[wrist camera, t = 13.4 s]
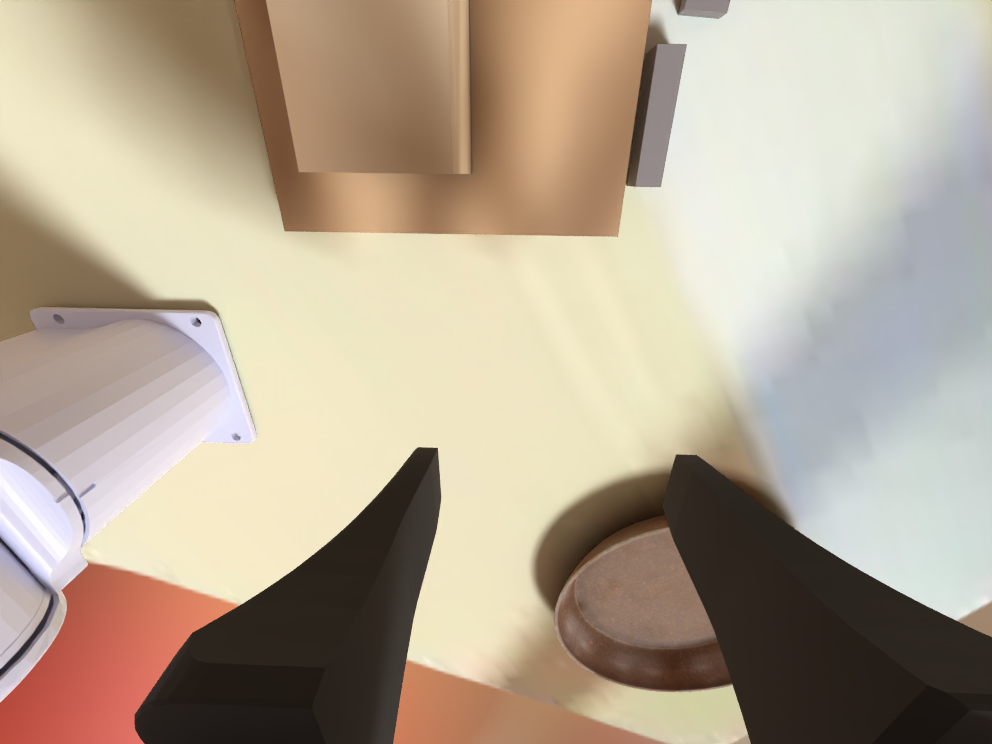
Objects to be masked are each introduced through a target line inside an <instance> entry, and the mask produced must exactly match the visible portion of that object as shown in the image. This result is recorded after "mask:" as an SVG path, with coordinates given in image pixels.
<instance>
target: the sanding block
mask: <svg viewBox="0 0 992 744" xmlns="http://www.w3.org/2000/svg"><path fill="white" fill-rule="evenodd" d="M266 3H267V8H268V13H269V19H270V24H271V29H272V34H273V40H274V45H275V50H276V55H277V60H278V66H279V71H280V76H281V81H282V86H283V92H284V97H285V102H286V107H287V113H288V118H289V123H290V128H291V133H292V139H293V144H294V149H295V154H296V159H297V165H298V170H299V172H327V173H409V174H473V173H472V103H471V33H470V0H266Z"/></svg>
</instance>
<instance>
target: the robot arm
mask: <svg viewBox="0 0 992 744" xmlns="http://www.w3.org/2000/svg"><path fill="white" fill-rule="evenodd" d="M29 315H30V318H31V320H32V322H33V324H34V326H35V328H36V330H33V331H30V332H27V333H24V334H21V335H18V336H15V337H12V338H9V339H6V340H3V341H0V702H1V701H2V700H3V699H4V698H5V697H6V696H7V695H8V694H9V693H10V692H11V691H12V690H13V689H14V688H15V687H16V686H17V685H18V684H19V683H20V682H21V681H22V680H23V679H24V678H25V676H26V675H27V674H28V673H29V672H30V670H31V669H32V668H33V667H34V666H35V664H36V663H37V662H38V661H39V660H40V658H41V657H42V656H43V654H44V653H45V652H46V651H47V649H48V648H49V646H50V645H51V643H52V642H53V640H54V639H55V637H56V636H57V634H58V632H59V630H60V628H61V626H62V624H63V622H64V619H65V615H66V611H67V604H66V599H65V597H64V595H63V593H62V591H61V590H62V589H63V588H64V587H65V586H66V585H67V584H68V583H69V582H70V581H72V580H73V579H74V578H75V577H76V576H77V575H78V574H79V573H80V572H81V571H82V570H83V569H84V568H85V567H86V566H87V565H88V563H87V562H86V560H85V559H84V557H83V555H82V552H81V547H82V546H84V545H85V544H86V543H87V542H88V541H89V540H90V539H92V538H93V537H94V536H95V535H96V534H97V533H98V532H100V531H101V530H102V529H103V528H104V527H105V526H106V525H108V524H109V523H110V522H111V521H112V520H113V519H114V518H116V517H117V516H118V515H119V514H120V513H121V512H122V511H124V510H125V509H126V508H127V507H128V506H129V505H130V504H132V503H133V502H134V501H135V500H136V499H137V498H138V497H140V496H141V495H142V494H143V493H144V492H145V491H146V490H148V489H149V488H150V487H151V486H152V485H153V484H155V483H156V482H157V481H158V480H159V479H160V478H161V477H163V476H164V475H165V474H166V473H167V472H168V471H169V470H171V469H172V468H173V467H174V466H175V465H176V464H177V463H179V462H180V461H181V460H182V459H183V458H184V457H185V456H187V455H188V454H189V453H190V452H191V451H192V450H193V449H195V448H196V447H197V446H198V445H199V444H200V443H201V442H203V443H239V444H249V443H252V442H253V441H254V440H255V439H256V437H257V434H256V430H255V427H254V424H253V421H252V418H251V415H250V412H249V409H248V405H247V402H246V399H245V396H244V393H243V390H242V387H241V384H240V380H239V377H238V374H237V371H236V368H235V365H234V362H233V359H232V355H231V352H230V349H229V346H228V343H227V340H226V337H225V334H224V330H223V327H222V324H221V321H220V319H219V317H218V316H217V315H216V314H215V313H214V312H212V311H208V310H162V309H113V308H65V307H39V308H35V309H32V310H31V311H30V314H29ZM62 317H63V318H62ZM196 318H198V319H199V320H200V321H201V324H200V323H199V322H198V321H197V320H196ZM237 434H238V435H240V436H238V435H237ZM440 503H441V488H440V474H439V459H438V448H422V447H418V448H417V449H416V450H414V452H413V453H412V454H411V456H410V457H409V458H408V460H407V461H406V462H405V463H404V465H403V466H402V467H401V468H400V470H399V471H398V472H397V473H396V475H395V476H394V477H393V478H392V479H391V480H390V482H389V483H388V484H387V485H386V486H385V487H384V488H383V490H382V491H381V492H380V493H379V494H378V495H377V496H376V497H375V499H374V500H373V501H372V502H371V503H370V504H369V505H368V506H367V507H366V508H365V509H364V510H363V511H362V512H361V513H360V514H359V515H358V516H357V517H356V518H355V519H354V520H353V521H352V522H351V523H350V524H349V525H348V526H347V527H345V528H344V529H343V530H342V531H341V532H340V533H339V534H338V535H337V536H335V537H334V538H333V539H332V540H331V541H330V542H328V543H327V544H326V545H325V546H324V547H322V548H321V549H320V550H319V551H317V552H316V553H315V554H314V555H312V556H311V557H310V558H309V559H307V560H306V561H305V562H303V563H302V564H301V565H300V566H298V567H297V568H296V569H294V570H293V571H291V572H290V573H289V574H287V575H286V576H284V577H283V578H281V579H280V580H279V581H277V582H276V583H274V584H273V585H271V586H270V587H268V588H267V589H265V590H264V591H262V592H261V593H259V594H257V595H256V596H254V597H253V598H251V599H250V600H248V601H246V602H245V603H243V604H242V605H240V606H238V607H237V608H235V609H233V610H231V611H230V612H228V613H226V614H225V615H223V616H221V617H219V618H218V619H216V620H214V621H213V622H211V623H209V624H207V625H206V626H204V627H202V628H200V629H199V630H197V631H195V632H193V633H192V634H191V635H190V637H189V638H188V639H187V641H186V642H185V643H184V645H183V646H182V647H181V648H180V650H179V651H178V652H177V654H176V655H175V656H174V658H173V659H172V661H171V662H170V664H169V666H168V667H167V668H166V670H165V671H164V673H163V674H162V676H161V677H160V679H159V680H158V681H157V683H156V684H155V686H154V687H153V689H152V690H151V692H150V693H149V695H148V696H147V697H146V699H145V701H144V702H143V703H142V705H141V706H140V708H139V709H138V711H137V712H136V714H135V729H136V731H137V733H138V735H139V737H140V738H141V740H142V741H143V742H144V743H145V744H393V740H394V733H395V727H396V721H397V714H398V707H399V701H400V694H401V688H402V682H403V676H404V670H405V664H406V658H407V652H408V647H409V641H410V635H411V629H412V624H413V618H414V614H415V610H416V605H417V601H418V597H419V594H420V590H421V586H422V582H423V579H424V575H425V571H426V568H427V564H428V560H429V556H430V553H431V549H432V545H433V541H434V538H435V534H436V530H437V524H438V517H439V510H440ZM662 506H663V509H664V513H665V516H666V520H667V523H668V526H669V529H670V532H671V535H672V538H673V540H674V543H675V545H676V547H677V549H678V552H679V554H680V556H681V558H682V560H683V563H684V565H685V567H686V569H687V571H688V574H689V576H690V578H691V580H692V582H693V584H694V587H695V589H696V591H697V593H698V595H699V597H700V600H701V602H702V604H703V606H704V608H705V610H706V613H707V615H708V617H709V620H710V622H711V625H712V627H713V629H714V632H715V635H716V638H717V641H718V643H719V646H720V649H721V652H722V655H723V658H724V660H725V663H726V666H727V669H728V672H729V675H730V678H731V681H732V684H733V687H734V690H735V693H736V697H737V700H738V703H739V706H740V709H741V712H742V715H743V719H744V722H745V725H746V729H747V732H748V735H749V739H750V742H751V744H992V637H990V636H988V635H985V634H983V633H981V632H978V631H976V630H974V629H972V628H970V627H968V626H966V625H964V624H962V623H960V622H958V621H956V620H954V619H952V618H949V617H947V616H945V615H943V614H941V613H939V612H937V611H935V610H933V609H931V608H929V607H927V606H925V605H923V604H921V603H919V602H917V601H915V600H913V599H912V598H910V597H908V596H906V595H904V594H902V593H900V592H898V591H896V590H895V589H893V588H891V587H889V586H887V585H885V584H884V583H882V582H880V581H878V580H876V579H875V578H873V577H871V576H869V575H867V574H866V573H864V572H862V571H860V570H859V569H857V568H855V567H854V566H852V565H850V564H848V563H847V562H845V561H843V560H842V559H840V558H839V557H837V556H835V555H834V554H832V553H831V552H829V551H827V550H826V549H824V548H823V547H821V546H819V545H818V544H816V543H815V542H813V541H812V540H810V539H809V538H807V537H806V536H804V535H803V534H801V533H800V532H798V531H797V530H795V529H794V528H793V527H791V526H790V525H788V524H787V523H785V522H784V521H783V520H781V519H780V518H778V517H777V516H776V515H774V514H773V513H772V512H770V511H769V510H767V509H766V508H765V507H763V506H762V505H761V504H759V503H758V502H757V501H755V500H754V499H753V498H752V497H750V496H749V495H748V494H746V493H745V492H744V491H743V490H741V489H740V488H739V487H737V486H736V485H735V484H734V483H732V482H731V481H730V480H729V479H727V478H726V477H725V476H723V475H722V474H721V473H720V472H718V471H717V470H716V469H715V468H713V467H712V466H711V465H709V464H708V463H707V462H705V461H704V460H703V459H701V458H700V457H699V456H697V455H676V457H675V460H674V464H673V468H672V471H671V475H670V479H669V482H668V486H667V490H666V493H665V497H664V501H663V504H662Z"/></svg>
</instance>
